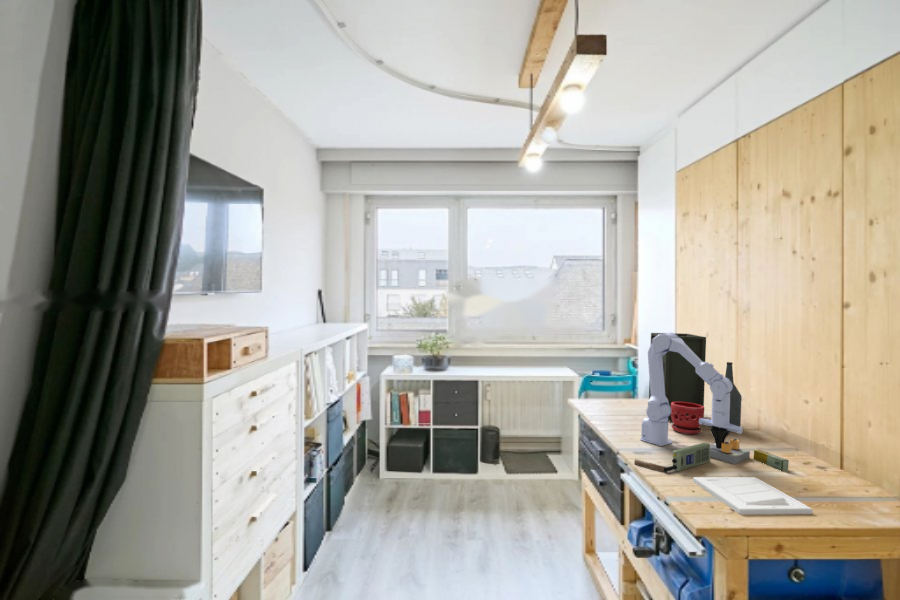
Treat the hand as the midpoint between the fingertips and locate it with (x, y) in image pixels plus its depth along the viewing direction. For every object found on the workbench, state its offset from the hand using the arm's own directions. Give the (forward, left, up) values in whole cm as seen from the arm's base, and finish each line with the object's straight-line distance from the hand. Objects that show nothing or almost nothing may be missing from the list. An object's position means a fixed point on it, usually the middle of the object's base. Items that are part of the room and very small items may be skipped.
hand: (719, 448), depth 178 cm
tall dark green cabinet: (-42, +44, -4) cm, 61 cm away
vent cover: (+21, -28, -4) cm, 36 cm away
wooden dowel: (-8, -31, -3) cm, 32 cm away
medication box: (+14, +8, -4) cm, 16 cm away
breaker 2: (+2, +7, -1) cm, 7 cm away
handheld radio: (-2, -20, -4) cm, 20 cm away
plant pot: (-25, +23, -4) cm, 34 cm away
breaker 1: (+2, 0, -1) cm, 3 cm away
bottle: (-17, +43, -4) cm, 47 cm away
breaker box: (0, +3, -3) cm, 5 cm away
